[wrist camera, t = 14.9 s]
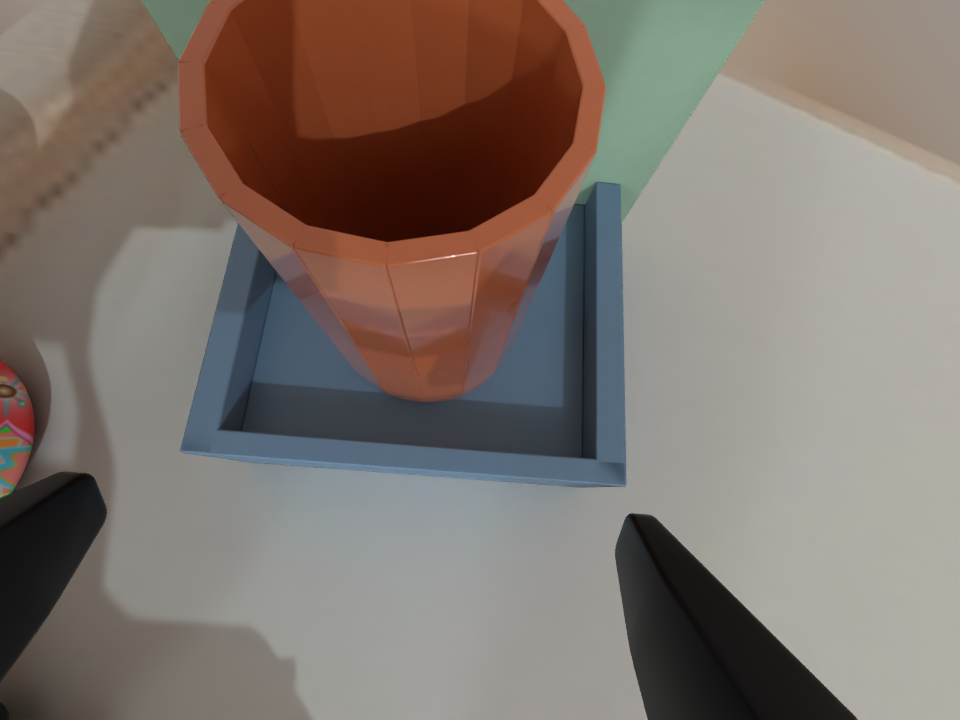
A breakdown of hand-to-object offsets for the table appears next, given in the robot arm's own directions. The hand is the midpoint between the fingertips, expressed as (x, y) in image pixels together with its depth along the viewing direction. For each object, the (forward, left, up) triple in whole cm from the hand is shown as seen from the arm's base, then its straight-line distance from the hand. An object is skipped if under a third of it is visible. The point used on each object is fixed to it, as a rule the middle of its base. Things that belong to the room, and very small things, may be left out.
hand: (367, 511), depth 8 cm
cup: (+6, -2, -8) cm, 10 cm away
